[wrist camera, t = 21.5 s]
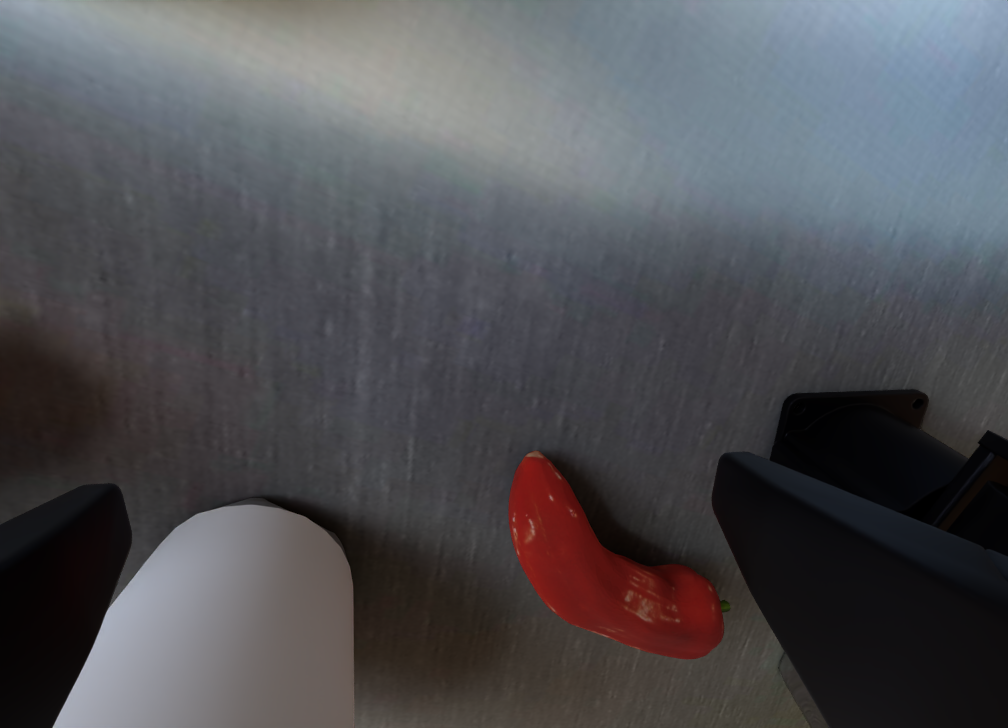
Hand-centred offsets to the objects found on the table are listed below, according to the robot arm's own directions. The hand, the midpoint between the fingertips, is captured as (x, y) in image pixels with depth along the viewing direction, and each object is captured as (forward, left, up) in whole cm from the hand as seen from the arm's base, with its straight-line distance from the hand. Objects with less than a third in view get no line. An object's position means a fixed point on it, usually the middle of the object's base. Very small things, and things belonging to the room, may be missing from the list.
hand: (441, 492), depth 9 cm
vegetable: (-13, +15, -11) cm, 22 cm away
